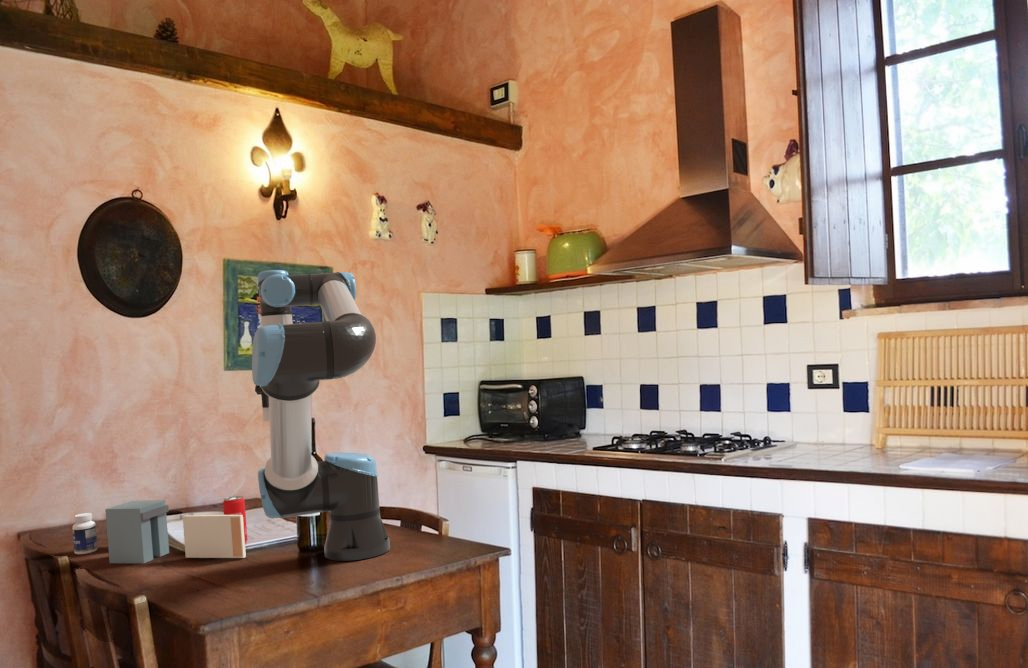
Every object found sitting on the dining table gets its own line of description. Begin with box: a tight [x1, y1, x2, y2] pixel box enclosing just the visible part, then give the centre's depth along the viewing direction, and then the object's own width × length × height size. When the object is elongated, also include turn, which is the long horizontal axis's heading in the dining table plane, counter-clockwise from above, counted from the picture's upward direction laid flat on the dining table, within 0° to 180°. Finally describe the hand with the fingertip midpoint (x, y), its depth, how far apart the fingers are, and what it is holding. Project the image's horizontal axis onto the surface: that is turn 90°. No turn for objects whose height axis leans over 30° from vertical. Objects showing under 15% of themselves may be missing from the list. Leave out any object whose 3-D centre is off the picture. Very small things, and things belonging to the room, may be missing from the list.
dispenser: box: [104, 500, 170, 564], centre depth 203 cm, size 11×9×13 cm
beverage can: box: [222, 495, 248, 543], centre depth 210 cm, size 5×5×12 cm
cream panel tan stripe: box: [182, 514, 247, 559], centre depth 198 cm, size 16×1×10 cm, turn 74°
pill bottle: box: [72, 512, 98, 555], centre depth 214 cm, size 5×5×10 cm
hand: (284, 417), depth 206 cm, fingers open, 13 cm apart
